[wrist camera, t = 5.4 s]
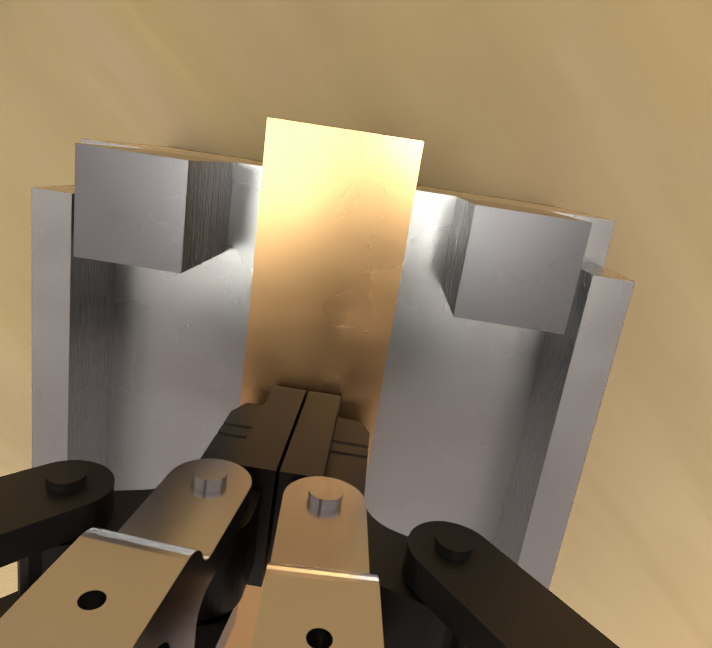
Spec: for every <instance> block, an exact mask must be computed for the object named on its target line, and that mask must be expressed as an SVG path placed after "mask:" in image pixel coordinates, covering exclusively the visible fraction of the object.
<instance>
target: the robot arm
mask: <svg viewBox="0 0 712 648" xmlns="http://www.w3.org/2000/svg"><path fill="white" fill-rule="evenodd" d="M340 402H341V396H339V395H332V394H326V393H320V392H314V391H309V393H308V395H307V390H301V389H295V388H289V387H283V386H277V385H275V386H274V387H273V389H272V391H271V393H270V394H269V396H268V398H267V400H266V402H265V404H264V405H259V404H253V403H245V404H243V405H241V406H239V407H237V408H236V409H234V410H232V411H231V412H230V413H229V415H228V417H227V418H226V420H225V421H224V424H223V425H222V426H221V427H220V429H219V430H218V433H217V434H216V435H215V437H214V438H213V440H212V441H211V443H210V444H209V446H208V447H207V449H206V451H205V452H204V454H203V455H202V457H201V458H200V459H197V460H192V461H188V462H185V463H183V464H180V465H178V466H177V467H175V468H174V469H173V470H172V471H171V472H170V473H169V474H168V475H167V476H166V477H165V478H164V479H163V481H162V482H161V483H160V484H159V485H158V486H157V487H156V488H155V489H145V490H117V491H114V486H115V478H114V475H113V473H112V472H111V470H110V469H108V468H107V467H105V466H103V465H101V464H99V463H95V462H91V461H84V460H65V461H58V462H53V463H49V464H45V465H41V466H38V467H34V468H31V469H27V470H24V471H20V472H16V473H13V474H9V475H6V476H2V477H0V567H3V566H6V565H8V564H11V563H13V562H16V561H17V563H18V591H17V592H14V593H12V594H10V595H7V596H5V597H2V598H0V648H224V647H225V645H226V643H227V640H228V638H229V636H230V634H231V631H232V629H233V627H234V625H235V622H236V619H237V611H238V603H239V602H240V600H241V598H242V596H243V593H244V590H245V587H246V585H252V586H258V587H262V584H263V580H264V584H263V589H262V594H261V599H260V604H259V610H258V615H257V620H256V625H255V630H254V635H253V640H252V645H251V648H619V647H618V646H617V645H616V644H614V643H613V642H612V641H611V640H610V639H608V638H607V637H606V636H605V635H603V634H602V633H601V632H600V631H598V630H597V629H596V628H595V627H594V626H592V625H591V624H590V623H589V622H587V621H586V620H585V619H584V618H582V617H581V616H580V615H579V614H578V613H576V612H575V611H574V610H573V609H571V608H570V607H569V606H568V605H566V604H565V603H564V602H563V601H562V600H560V599H559V598H558V597H557V596H555V595H554V594H553V593H552V592H550V591H549V590H548V589H547V588H546V587H544V586H543V585H542V584H541V583H539V582H538V581H537V580H536V579H534V578H533V577H532V576H531V575H530V574H528V573H527V572H526V571H525V570H523V569H522V568H521V567H520V566H519V565H517V564H516V563H515V562H514V561H512V560H511V559H510V558H509V557H507V556H506V555H505V554H504V553H503V552H501V551H500V550H499V549H498V548H496V547H495V546H494V545H493V544H491V543H490V542H489V541H488V540H487V539H485V538H484V537H483V536H481V535H480V534H479V533H477V532H475V531H473V530H472V529H470V528H467V527H465V526H462V525H459V524H456V523H452V522H446V521H429V522H425V523H422V524H419V525H417V526H416V527H415V528H413V529H412V531H411V532H410V534H409V536H406V535H403V534H401V533H398V532H396V531H393V530H391V529H389V528H387V527H385V526H384V525H382V524H381V523H379V522H378V521H377V520H376V519H374V518H373V517H372V516H371V514H370V513H369V512H368V510H367V508H366V501H365V498H364V494H365V482H366V470H367V457H368V446H369V435H370V433H369V432H368V430H367V429H366V427H365V426H364V424H363V423H362V422H361V421H358V420H352V419H346V418H340V417H338V415H339V408H340ZM264 577H265V579H264Z"/></svg>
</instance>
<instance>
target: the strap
mask: <svg viewBox="0 0 712 648" xmlns="http://www.w3.org/2000/svg"><path fill="white" fill-rule="evenodd" d="M423 144H424V141H420V140H413V139H406V138H400V137H393V136H387V135H380V134H374V133H367V132H360V131H354V130H347V129H341V128H334V127H328V126H321V125H314V124H308V123H301V122H295V121H288V120H282V119H275V118H269V117H267V126H266V136H265V147H264V157H263V168H262V179H261V189H260V200H259V210H258V221H257V231H256V242H255V253H254V263H253V274H252V284H251V295H250V305H249V316H248V327H247V337H246V348H245V358H244V369H243V379H242V390H241V401H240V406H241V405H243V404H245V403H253V404H259V405H264V404H265V402H266V400H267V398H268V396H269V394H270V393H271V391H272V389H273V387H274V386H275V385H277V386H283V387H289V388H295V389H301V390H307V395H308V393H309V391H314V392H320V393H326V394H332V395H339V396H341V402H340V408H339V415H338V417H340V418H346V419H352V420H358V421H361V422H362V423H363V424H364V426H365V427H366V429H367V430H368V432H369V433H370V435H369V446H368V457H367V469H368V463H369V457H370V451H371V445H372V440H373V434H374V428H375V422H376V416H377V411H378V405H379V399H380V393H381V388H382V382H383V376H384V370H385V364H386V359H387V353H388V347H389V341H390V335H391V330H392V324H393V318H394V312H395V306H396V301H397V295H398V289H399V283H400V277H401V272H402V266H403V260H404V254H405V248H406V243H407V237H408V231H409V225H410V219H411V214H412V208H413V202H414V196H415V190H416V185H417V179H418V173H419V167H420V161H421V156H422V150H423ZM366 474H367V470H366ZM264 579H265V577H264ZM263 584H264V580H263ZM263 584H262V587H258V586H252V585H246V587H245V590H244V593H243V596H242V598H241V600H240V602H239V603H238V611H237V619H236V622H235V625H234V627H233V629H232V631H231V634H230V636H229V638H228V640H227V643H226V645H225V647H224V648H251V645H252V640H253V635H254V630H255V625H256V620H257V615H258V610H259V604H260V599H261V594H262V589H263Z"/></svg>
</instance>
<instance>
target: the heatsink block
mask: <svg viewBox="0 0 712 648" xmlns="http://www.w3.org/2000/svg"><path fill="white" fill-rule="evenodd" d="M262 168H263V162H262V161H256V160H249V159H243V158H236V157H230V156H223V155H217V154H210V153H204V152H197V151H191V150H184V149H178V148H171V147H164V146H154V145H143V144H133V143H122V142H112V141H101V140H91V139H81V143H76V144H75V185H69V186H50V187H32V468H34V467H38V466H41V465H45V464H49V463H53V462H58V461H65V460H84V461H91V462H95V463H99V464H101V465H103V466H105V467H107V468H108V469H110V470H111V472H112V473H113V475H114V478H115V486H114V491H117V490H145V489H155V488H156V487H157V486H158V485H159V484H160V483H161V482H162V481H163V479H164V478H165V477H166V476H167V475H168V474H169V473H170V472H171V471H172V470H173V469H174V468H175V467H177V466H178V465H180V464H183V463H185V462H188V461H192V460H197V459H200V458H201V457H202V455H203V454H204V452H205V451H206V449H207V447H208V446H209V444H210V443H211V441H212V440H213V438H214V437H215V435H216V434H217V433H218V430H219V429H220V427H221V426H222V425H223V424H224V421H225V420H226V418H227V417H228V415H229V413H230V412H231V411H232V410H234V409H236V408H237V407H239V406H240V401H241V390H242V379H243V369H244V358H245V348H246V337H247V327H248V316H249V305H250V295H251V284H252V274H253V263H254V253H255V242H256V231H257V221H258V210H259V200H260V189H261V179H262ZM614 225H615V221H613V220H609V219H605V218H601V217H596V216H592V215H588V214H584V213H580V212H575V211H571V210H567V209H563V208H559V207H554V206H548V205H541V204H535V203H528V202H522V201H515V200H509V199H502V198H496V197H489V196H483V195H476V194H470V193H463V192H457V191H450V190H444V189H437V188H431V187H424V186H418V185H416V190H415V196H414V202H413V208H412V214H411V219H410V225H409V231H408V237H407V243H406V248H405V254H404V260H403V266H402V272H401V277H400V283H399V289H398V295H397V301H396V306H395V312H394V318H393V324H392V330H391V335H390V341H389V347H388V353H387V359H386V364H385V370H384V376H383V382H382V388H381V393H380V399H379V405H378V411H377V416H376V422H375V428H374V434H373V440H372V445H371V451H370V457H369V463H368V469H367V474H366V482H365V494H364V498H365V501H366V508H367V510H368V512H369V513H370V514H371V516H372V517H373V518H374V519H376V520H377V521H378V522H379V523H381V524H382V525H384V526H385V527H387V528H389V529H391V530H393V531H396V532H398V533H401V534H403V535H406V536H409V534H410V532H411V531H412V529H413V528H415V527H416V526H417V525H419V524H422V523H425V522H429V521H446V522H452V523H456V524H459V525H462V526H465V527H467V528H470V529H472V530H473V531H475V532H477V533H479V534H480V535H481V536H483V537H484V538H485V539H487V540H488V541H489V542H490V543H491V544H493V545H494V546H495V547H496V548H498V549H499V550H500V551H501V552H503V553H504V554H505V555H506V556H507V557H509V558H510V559H511V560H512V561H514V562H515V563H516V564H517V565H519V566H520V567H521V568H522V569H523V570H525V571H526V572H527V573H528V574H530V575H531V576H532V577H533V578H534V579H536V580H537V581H538V582H539V583H541V584H542V585H543V586H544V587H546V588H547V589H549V586H550V582H551V579H552V575H553V571H554V568H555V564H556V561H557V557H558V554H559V550H560V547H561V543H562V539H563V536H564V532H565V529H566V525H567V522H568V518H569V515H570V511H571V507H572V504H573V500H574V497H575V493H576V490H577V486H578V483H579V479H580V476H581V472H582V468H583V465H584V461H585V458H586V454H587V451H588V447H589V444H590V440H591V436H592V433H593V429H594V426H595V422H596V419H597V415H598V412H599V408H600V404H601V401H602V397H603V394H604V390H605V387H606V383H607V380H608V376H609V372H610V369H611V365H612V362H613V358H614V355H615V351H616V348H617V344H618V341H619V337H620V333H621V330H622V326H623V323H624V319H625V316H626V312H627V309H628V305H629V301H630V298H631V294H632V291H633V287H634V284H635V282H634V281H632V280H630V279H628V278H626V277H624V276H621V275H619V274H617V273H615V272H613V271H611V270H609V269H607V268H604V263H605V259H606V255H607V252H608V248H609V244H610V240H611V236H612V233H613V229H614Z"/></svg>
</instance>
